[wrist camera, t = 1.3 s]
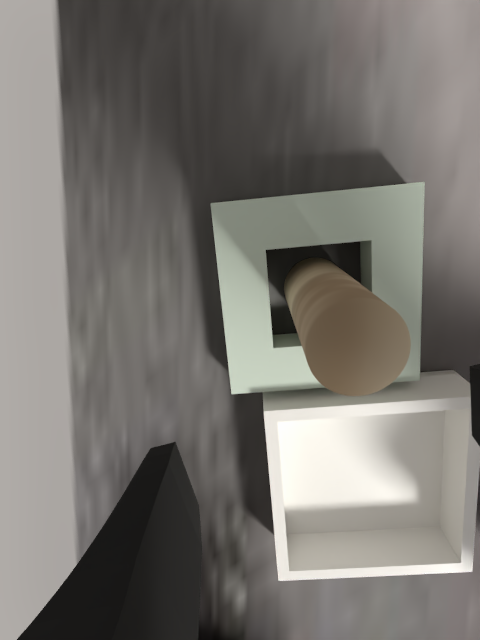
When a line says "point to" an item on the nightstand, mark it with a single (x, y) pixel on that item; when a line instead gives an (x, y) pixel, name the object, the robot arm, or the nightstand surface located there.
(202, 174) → the nightstand surface
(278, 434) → the tray
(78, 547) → the nightstand surface
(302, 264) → the dowel
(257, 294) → the holder
